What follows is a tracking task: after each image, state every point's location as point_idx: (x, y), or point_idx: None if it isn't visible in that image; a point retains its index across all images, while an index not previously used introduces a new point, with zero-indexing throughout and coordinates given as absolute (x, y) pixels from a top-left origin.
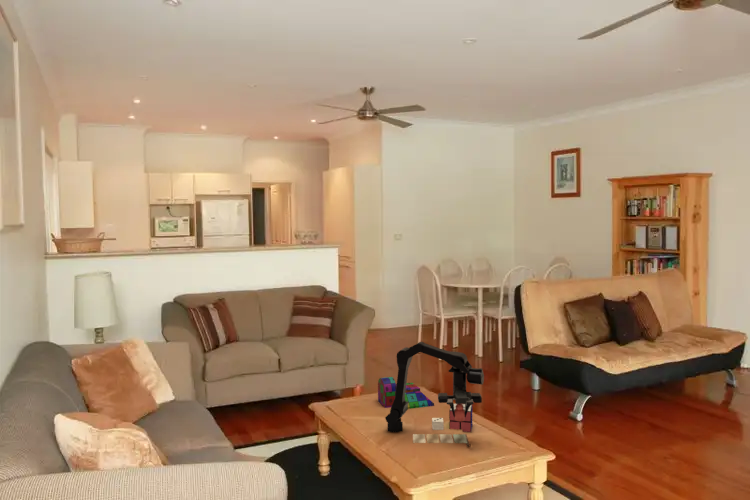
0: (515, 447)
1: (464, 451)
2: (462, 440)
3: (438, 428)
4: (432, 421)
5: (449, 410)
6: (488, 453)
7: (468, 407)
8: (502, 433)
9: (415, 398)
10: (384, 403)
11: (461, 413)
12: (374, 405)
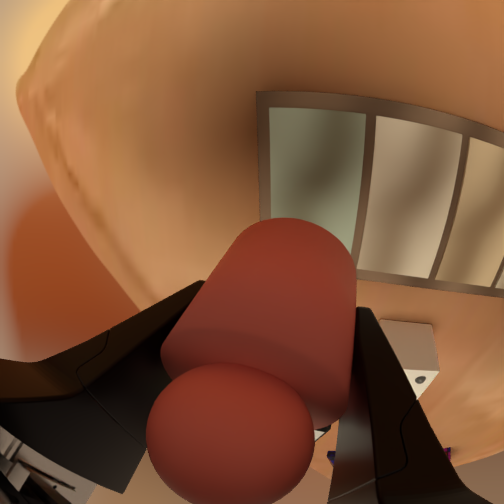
0: (64, 117)
1: (301, 13)
2: (300, 154)
3: (406, 337)
4: (435, 374)
5: (328, 430)
6: (158, 12)
7: (63, 359)
8: (115, 261)
9: None
10: (449, 457)
11: (227, 295)
12: (460, 451)
